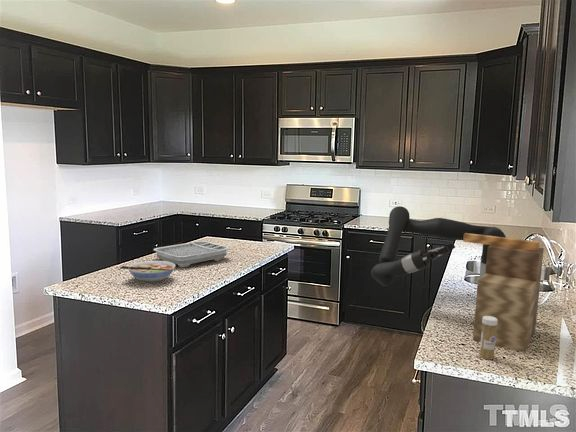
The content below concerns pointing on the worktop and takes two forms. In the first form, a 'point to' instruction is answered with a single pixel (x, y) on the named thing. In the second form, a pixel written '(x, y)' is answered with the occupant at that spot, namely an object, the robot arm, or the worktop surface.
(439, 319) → the worktop surface
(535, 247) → the dowel
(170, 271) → the ramen bowl
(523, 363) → the worktop surface
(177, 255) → the dish rack
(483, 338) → the sprinkles bottle
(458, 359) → the worktop surface
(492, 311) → the box
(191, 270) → the worktop surface
